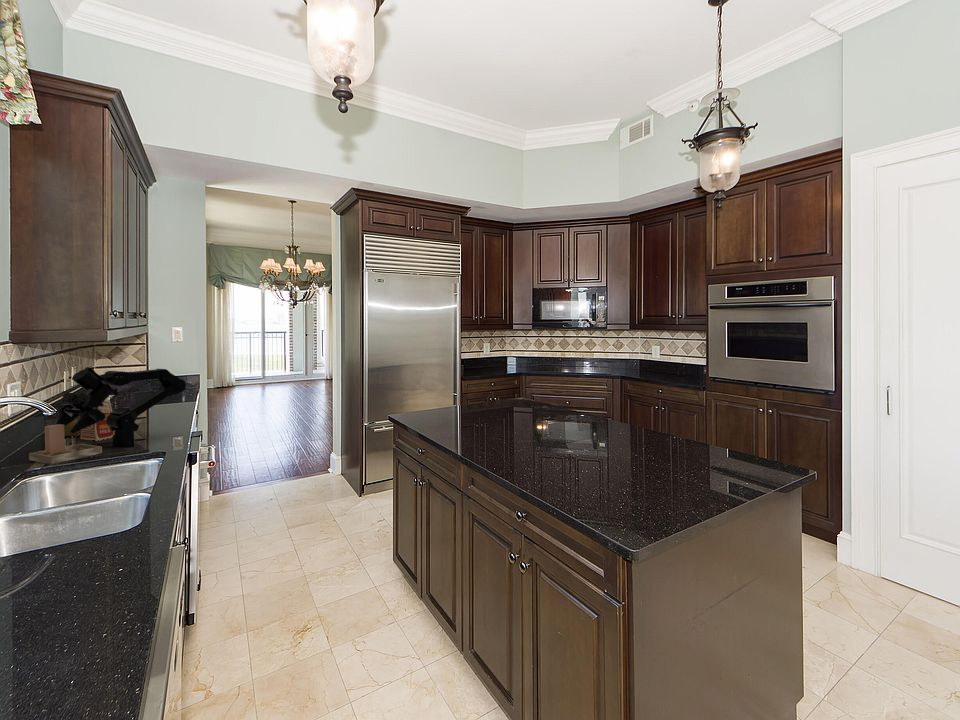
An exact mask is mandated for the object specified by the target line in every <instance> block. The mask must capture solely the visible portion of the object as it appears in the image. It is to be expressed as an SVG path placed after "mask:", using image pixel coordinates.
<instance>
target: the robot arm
mask: <svg viewBox="0 0 960 720" xmlns="http://www.w3.org/2000/svg"><path fill="white" fill-rule="evenodd" d="M156 379H157V380H158V382H159V384H160V386H159V388H158V389H157V390H155V391H154V392H152V393H151V394H149V395H147V396H146V397H144V398H142V399H141V400H139V401H138V402H136V403H134V404H133V405H131V406H129V407H123V406H122V407H121V406H120V407H118V408H116V409H115V410H112V412H110V413H111V414H110V415H109V416H108V417H107V420H106V423H107V425H108V426H109V427H110V428H111V430H112V431H115V432H114V435H113V437H112V446H113V447H114V448H129V447H135V446H136V442H135V441H136V440H135V432H137V431H138V430H139V427H140V425H139V424H138V423H137V422H136V420H137V418H138V417H139V416H140V415H141V414H143V413H145V412H146V411H148V410H150V409H151V408H152V407H154V406H156V405H158V404H159V403H161V402H162V401H163V400H165V399H167V398H168V397H172V396H175V395H178V394H180V393H182V392H184V391H185V390H186V389H187V388H186V387H187V384H186V381H185V380H184V379H181V378H180V377H178V376H176V375H175V374H173V373H172V372H170V370H168V369H166V368H155V369H145V370H135V371H123V370H121V371H119V370H118V371H117V370H107V371H105V372H104V373H102V374H99V373H97V372H96V371H95V370H94V369H93V368H92V367H88V366H87V367H85V368H84V369H81V370H80V371H78V372H75V373H74V374H73V376H72V378H71V380H72V381H73V382H75V383H76V384H77V385H79V386H80V387H81V388H82V389H84V390H86V391H87V390H90V391H89V392H88V393H87V394H86V393H85V392H82V391H78V392H77V393H73V392H64V394H63V395H62V398H61V400H60V401H61V402H67V403H60V404H59V405H58V406H57V407H56V410H57V411H56V412H57V413H58V415H59V416H58V418H57V420H56V423H55V424H54V425H57V424H63V425H64V426H66V425H67V424H69V423H71V422H72V421H74V420H75V419H76V418H78V417H79V416H80V417H79V419H77V420H78V422H77V423H76V424H75V425H74V427H73V428H72V429H71V431H70V432H71V433H75V432H77V431H79V430H82V429H84V428H86V427H88V426H91V425H93V424H95V423H98V422H102V421H103V420H104V419H105V414H104V413H103V412H101V411H100V410H99V409H98V407H99V406H100V407H102V406H103V405H104V404H103V402H104V401H105V400H106V399H107V398H108V399H109V397H110V396H119V393H118V388H116V387H120V386H121V387H122V386H125V385H128V384H131V383H133V382H138V381H147V380H156ZM112 386H115V388H114V387H112ZM68 403H70V404H68Z"/></svg>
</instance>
